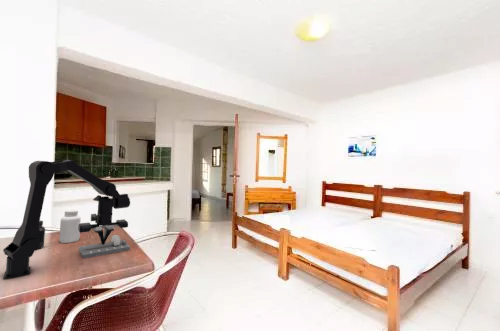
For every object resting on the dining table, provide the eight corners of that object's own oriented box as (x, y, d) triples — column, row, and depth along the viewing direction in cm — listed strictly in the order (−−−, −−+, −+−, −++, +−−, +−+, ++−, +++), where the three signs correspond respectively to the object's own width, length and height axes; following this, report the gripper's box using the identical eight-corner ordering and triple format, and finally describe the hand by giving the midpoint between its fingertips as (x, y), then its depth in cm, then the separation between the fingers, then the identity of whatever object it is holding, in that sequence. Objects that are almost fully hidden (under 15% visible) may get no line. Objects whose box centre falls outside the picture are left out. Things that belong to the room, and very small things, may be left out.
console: (129, 249, 109) (130, 244, 109) (82, 258, 97) (83, 252, 97) (122, 242, 118) (123, 237, 118) (78, 250, 106) (79, 244, 106)
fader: (119, 245, 109) (120, 237, 109) (113, 246, 107) (114, 238, 107) (117, 242, 113) (117, 234, 113) (111, 243, 111) (111, 235, 111)
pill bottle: (81, 237, 122) (83, 209, 122) (76, 242, 115) (78, 212, 115) (62, 238, 119) (64, 209, 119) (56, 243, 112) (58, 212, 112)
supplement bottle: (31, 251, 101) (33, 223, 101) (19, 249, 102) (20, 222, 103) (48, 246, 108) (49, 220, 108) (36, 244, 109) (37, 219, 109)
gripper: (123, 206, 119) (121, 236, 119) (77, 208, 107) (75, 243, 106) (129, 209, 111) (127, 242, 110) (81, 212, 98) (78, 250, 98)
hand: (102, 244), depth 107 cm, fingers closed
